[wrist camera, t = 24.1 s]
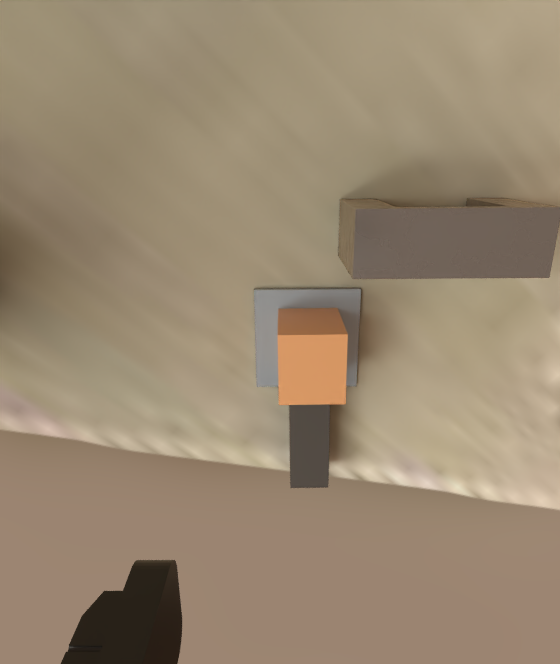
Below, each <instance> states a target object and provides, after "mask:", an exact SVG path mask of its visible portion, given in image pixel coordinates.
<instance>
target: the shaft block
mask: <svg viewBox="0 0 560 664" xmlns="http://www.w3.org/2000/svg"><path fill="white" fill-rule="evenodd" d="M559 222H560V207H557V206H551V205H544V204H538V203H531V202H525V201H518V200H512V199H505V198H467V202H466V207H395V206H393V205H390V204H387V203H385V202H382V201H379V200H377V199H340V215H339V246H338V256H339V257H340V259H341V261H342V262H343V264H344V266H345V267H346V269H347V271H348V272H349V274H350V275H351V277H352V279H421V278H549V277H550V271H551V266H552V261H553V255H554V250H555V244H556V239H557V233H558V228H559Z"/></svg>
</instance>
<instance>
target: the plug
mask: <svg viewBox="0 0 560 664" xmlns="http://www.w3.org/2000/svg"><path fill="white" fill-rule="evenodd" d="M277 337H278V387H279V405H289V423H290V481H291V482H290V484H291V488H316V487H317V488H320V487H328V475H329V424H330V404H346V375H347V344H348V334H347V331H346V328H345V326H344V323H343V321H342V318H341V315H340V313H339V310H338V308H288V309H278V334H277Z"/></svg>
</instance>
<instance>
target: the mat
mask: <svg viewBox="0 0 560 664" xmlns="http://www.w3.org/2000/svg"><path fill="white" fill-rule="evenodd" d="M360 301H361V289H360V288H302V289H254V302H255V340H256V378H257V387H278V337H277V334H278V309H288V308H338V310H339V313H340V315H341V318H342V321H343V323H344V326H345V328H346V331H347V334H348V344H347V375H346V386H356V381H357V361H358V341H359V321H360Z"/></svg>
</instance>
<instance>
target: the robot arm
mask: <svg viewBox="0 0 560 664" xmlns="http://www.w3.org/2000/svg"><path fill="white" fill-rule="evenodd" d="M181 637H182V612H181V603H180V593H179V583H178V572H177V565H176V561H175V560H137V561H135V563H134V564H133V566H132V568H131V571H130V574H129V576H128V579H127V582H126V584H125V587H124V590H123V591H104V592H103V593H102V594H101V595H100V596H99V597H98V599H97V600H96V601H95V602H94V603H93V604H92V605H91V607H90V608H89V609H88V610H87V611H86V612H85V613H84V614H83V616H82V617H81V619H80V622H79V624H78V626H77V628H76V631H75V633H74V635H73V637H72V640H71V642H70V644H69V650H68V652H66V653H65V655H64V658H63V660H62V662H61V664H177V663H178V658H179V653H180V645H181Z"/></svg>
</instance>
